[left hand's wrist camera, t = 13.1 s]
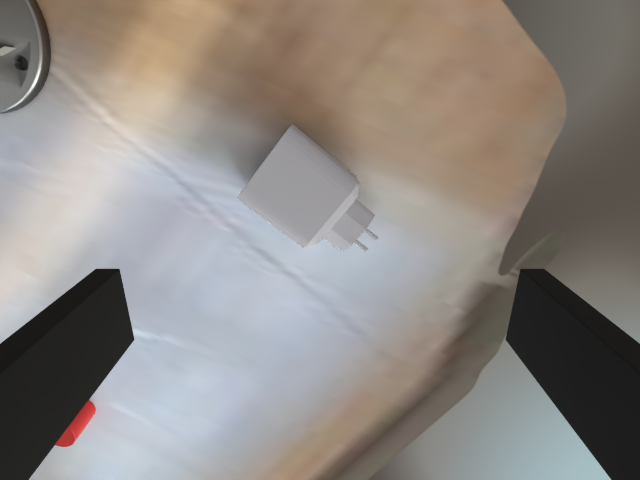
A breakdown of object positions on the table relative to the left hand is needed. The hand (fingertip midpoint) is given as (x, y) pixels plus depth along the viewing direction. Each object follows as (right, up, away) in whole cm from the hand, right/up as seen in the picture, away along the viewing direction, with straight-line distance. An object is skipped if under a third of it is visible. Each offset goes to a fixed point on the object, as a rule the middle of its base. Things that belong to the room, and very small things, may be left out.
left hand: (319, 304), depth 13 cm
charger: (0, +7, +31) cm, 32 cm away
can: (-34, -22, +42) cm, 58 cm away
